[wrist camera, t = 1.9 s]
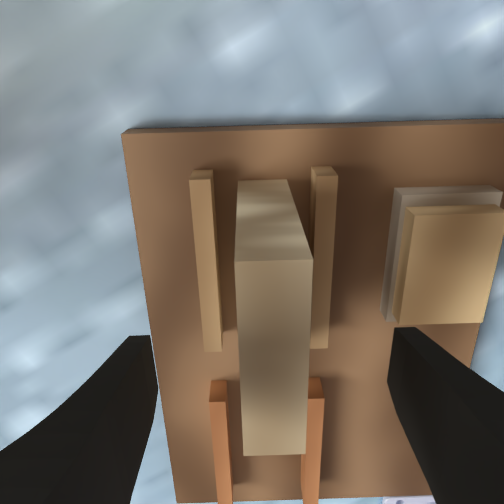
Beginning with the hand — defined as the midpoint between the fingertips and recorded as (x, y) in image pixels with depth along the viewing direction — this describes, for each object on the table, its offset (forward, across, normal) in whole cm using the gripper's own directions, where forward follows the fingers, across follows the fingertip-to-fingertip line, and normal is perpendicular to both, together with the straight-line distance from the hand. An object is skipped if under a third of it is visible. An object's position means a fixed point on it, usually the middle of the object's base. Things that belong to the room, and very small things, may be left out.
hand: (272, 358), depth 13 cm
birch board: (+7, 0, 0) cm, 7 cm away
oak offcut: (+6, -8, 0) cm, 10 cm away
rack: (+8, -2, +6) cm, 10 cm away
